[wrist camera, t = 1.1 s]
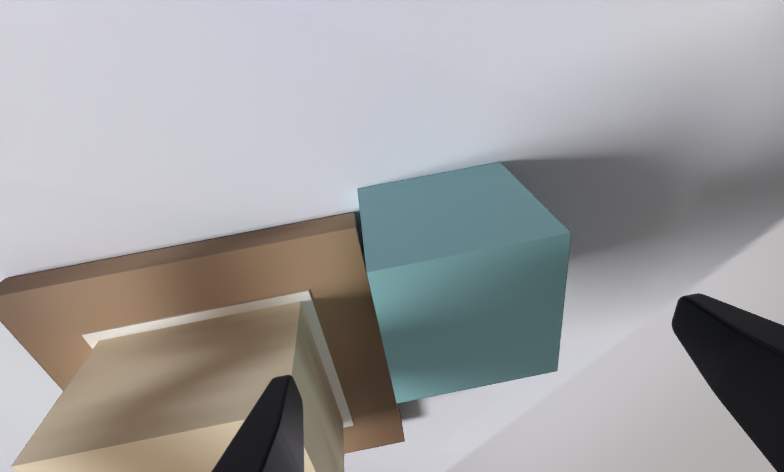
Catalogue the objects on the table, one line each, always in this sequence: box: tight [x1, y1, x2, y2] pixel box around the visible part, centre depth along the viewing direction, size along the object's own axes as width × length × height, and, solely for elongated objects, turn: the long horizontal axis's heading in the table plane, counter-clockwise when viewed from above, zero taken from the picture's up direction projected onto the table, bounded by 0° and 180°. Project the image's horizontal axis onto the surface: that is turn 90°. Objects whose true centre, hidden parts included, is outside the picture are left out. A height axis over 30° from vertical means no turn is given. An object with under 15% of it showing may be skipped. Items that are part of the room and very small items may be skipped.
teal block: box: [357, 162, 571, 403], centre depth 12 cm, size 4×4×4 cm
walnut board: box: [0, 212, 405, 454], centre depth 15 cm, size 11×11×1 cm
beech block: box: [11, 301, 344, 472], centre depth 13 cm, size 6×6×4 cm
